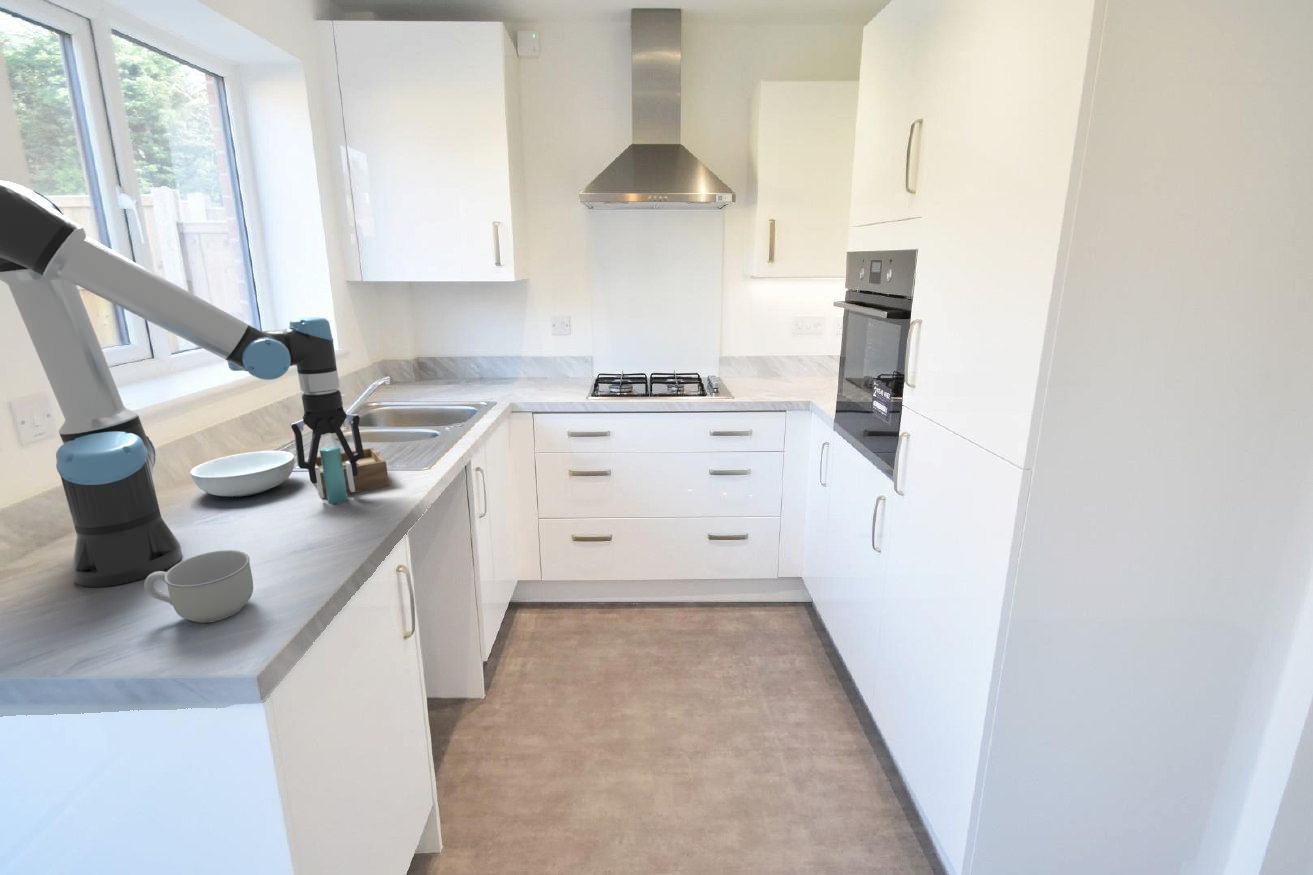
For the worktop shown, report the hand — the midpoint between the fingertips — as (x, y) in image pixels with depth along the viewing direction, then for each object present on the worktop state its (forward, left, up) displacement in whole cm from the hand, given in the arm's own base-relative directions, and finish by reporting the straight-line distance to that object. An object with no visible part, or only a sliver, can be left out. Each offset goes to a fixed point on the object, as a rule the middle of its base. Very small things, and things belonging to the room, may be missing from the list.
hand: (336, 492), depth 146 cm
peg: (0, 0, -2) cm, 2 cm away
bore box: (+11, -4, -2) cm, 12 cm away
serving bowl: (+21, +16, -2) cm, 26 cm away
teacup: (-41, +25, -2) cm, 48 cm away
